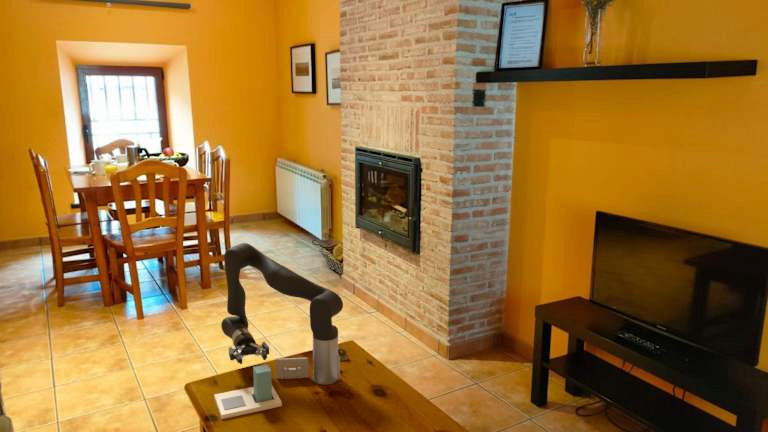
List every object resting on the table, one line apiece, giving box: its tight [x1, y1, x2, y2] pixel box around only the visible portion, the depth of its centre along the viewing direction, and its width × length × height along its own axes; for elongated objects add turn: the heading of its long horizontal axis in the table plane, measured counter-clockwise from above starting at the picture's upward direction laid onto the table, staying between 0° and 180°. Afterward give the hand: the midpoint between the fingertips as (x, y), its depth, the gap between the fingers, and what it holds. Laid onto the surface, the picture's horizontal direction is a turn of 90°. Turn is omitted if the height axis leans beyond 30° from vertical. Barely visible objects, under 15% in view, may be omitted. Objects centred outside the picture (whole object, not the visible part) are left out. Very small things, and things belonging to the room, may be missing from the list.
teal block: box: [252, 364, 273, 403], centre depth 198 cm, size 5×5×12 cm
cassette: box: [275, 357, 309, 380], centre depth 215 cm, size 12×2×8 cm, turn 97°
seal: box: [338, 347, 349, 362], centre depth 233 cm, size 9×5×15 cm
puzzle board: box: [213, 385, 283, 420], centre depth 198 cm, size 20×14×2 cm
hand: (253, 359), depth 208 cm, fingers open, 8 cm apart
